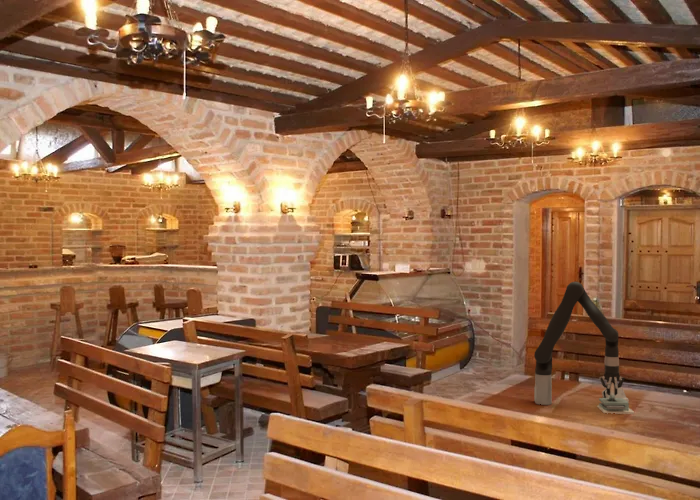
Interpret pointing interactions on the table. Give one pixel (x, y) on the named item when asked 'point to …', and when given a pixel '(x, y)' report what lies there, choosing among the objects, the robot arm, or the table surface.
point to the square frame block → (614, 406)
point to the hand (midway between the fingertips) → (611, 394)
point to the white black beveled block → (619, 394)
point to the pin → (612, 392)
